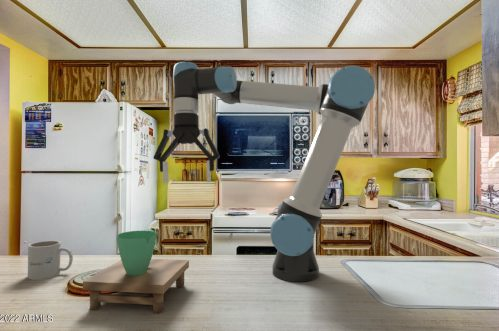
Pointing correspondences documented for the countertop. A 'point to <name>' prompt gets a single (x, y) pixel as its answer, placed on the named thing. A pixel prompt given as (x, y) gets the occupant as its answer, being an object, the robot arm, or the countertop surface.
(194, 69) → the robot arm
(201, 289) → the countertop surface
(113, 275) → the stool
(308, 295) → the countertop surface
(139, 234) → the green cup
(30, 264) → the mug
